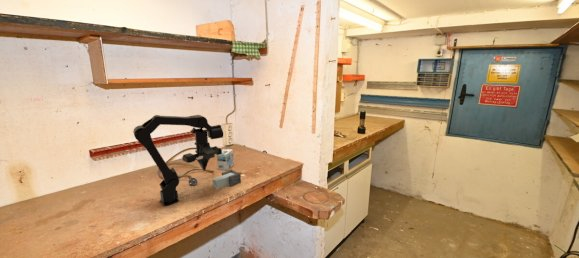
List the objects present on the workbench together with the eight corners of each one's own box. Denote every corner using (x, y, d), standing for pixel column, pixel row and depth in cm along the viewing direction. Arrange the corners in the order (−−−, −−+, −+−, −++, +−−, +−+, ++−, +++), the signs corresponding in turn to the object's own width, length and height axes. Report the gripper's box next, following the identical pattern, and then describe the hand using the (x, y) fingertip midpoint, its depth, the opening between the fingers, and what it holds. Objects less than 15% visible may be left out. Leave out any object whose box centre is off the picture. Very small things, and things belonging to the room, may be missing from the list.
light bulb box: (227, 170, 160) (226, 154, 158) (217, 169, 162) (216, 153, 159) (234, 164, 171) (233, 149, 168) (225, 163, 172) (224, 148, 169)
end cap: (231, 186, 138) (230, 177, 137) (222, 182, 144) (221, 172, 143) (240, 182, 143) (240, 173, 142) (231, 178, 149) (231, 169, 147)
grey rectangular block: (217, 189, 135) (216, 181, 134) (212, 187, 138) (212, 178, 137) (235, 182, 144) (235, 174, 143) (231, 180, 146) (231, 172, 145)
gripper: (191, 148, 114) (194, 180, 118) (227, 139, 127) (228, 169, 131) (180, 143, 121) (183, 174, 125) (215, 136, 135) (217, 164, 138)
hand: (204, 170), depth 130 cm, fingers closed
